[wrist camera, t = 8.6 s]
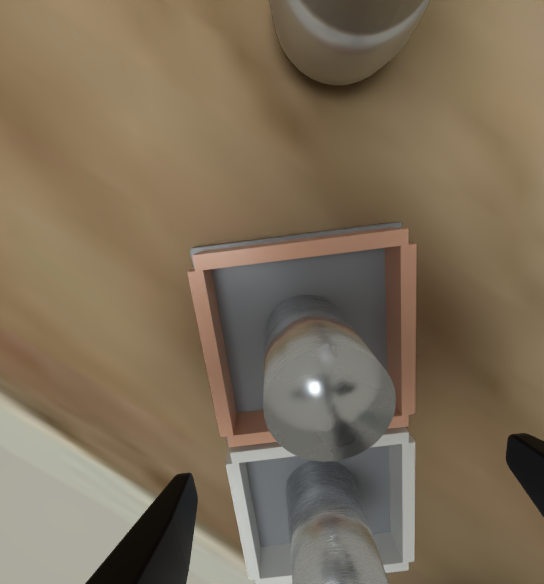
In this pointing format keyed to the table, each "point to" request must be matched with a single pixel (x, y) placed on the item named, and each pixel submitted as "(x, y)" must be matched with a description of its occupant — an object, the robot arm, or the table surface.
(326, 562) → the billet
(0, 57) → the table surface
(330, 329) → the steel billet
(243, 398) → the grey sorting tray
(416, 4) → the plastic bottle
